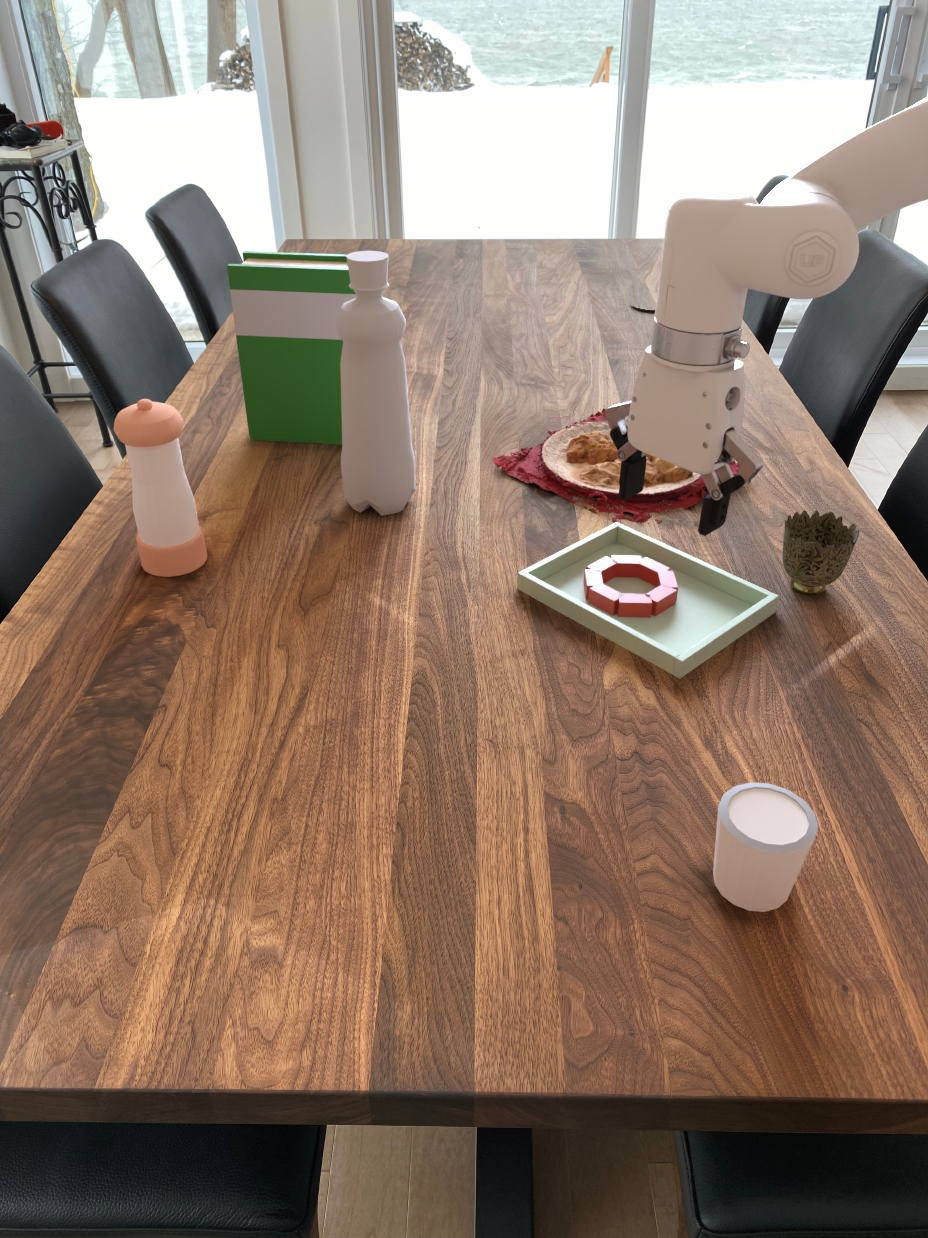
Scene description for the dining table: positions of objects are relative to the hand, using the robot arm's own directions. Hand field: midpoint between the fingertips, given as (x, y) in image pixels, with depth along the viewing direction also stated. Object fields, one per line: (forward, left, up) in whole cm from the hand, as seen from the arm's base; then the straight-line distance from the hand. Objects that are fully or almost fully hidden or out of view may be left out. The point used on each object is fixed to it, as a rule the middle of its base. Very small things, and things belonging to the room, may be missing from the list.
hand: (669, 512), depth 96 cm
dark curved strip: (+67, -85, -12) cm, 109 cm away
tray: (+2, 0, -12) cm, 12 cm away
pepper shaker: (+44, +32, -12) cm, 55 cm away
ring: (+4, 0, -11) cm, 12 cm away
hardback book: (+62, -1, -12) cm, 63 cm away
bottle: (+39, +6, -12) cm, 41 cm away
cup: (-9, -15, -12) cm, 21 cm away
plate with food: (+24, -23, -12) cm, 35 cm away
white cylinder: (-27, +24, -12) cm, 38 cm away
